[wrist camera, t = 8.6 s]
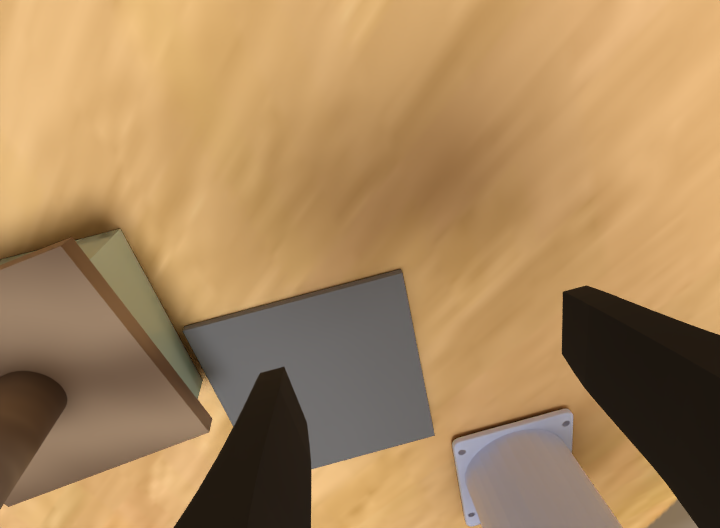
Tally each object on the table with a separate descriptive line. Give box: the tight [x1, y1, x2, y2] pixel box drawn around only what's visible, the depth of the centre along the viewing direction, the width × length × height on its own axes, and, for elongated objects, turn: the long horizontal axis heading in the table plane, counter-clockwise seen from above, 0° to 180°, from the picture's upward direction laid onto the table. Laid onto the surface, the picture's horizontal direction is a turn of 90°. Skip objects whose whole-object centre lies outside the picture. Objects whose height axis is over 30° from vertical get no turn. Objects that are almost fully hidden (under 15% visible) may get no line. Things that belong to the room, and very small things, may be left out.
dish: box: [0, 229, 203, 399], centre depth 19 cm, size 9×9×3 cm
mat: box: [183, 269, 435, 469], centre depth 23 cm, size 12×11×1 cm
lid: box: [0, 237, 212, 509], centre depth 15 cm, size 10×10×5 cm
